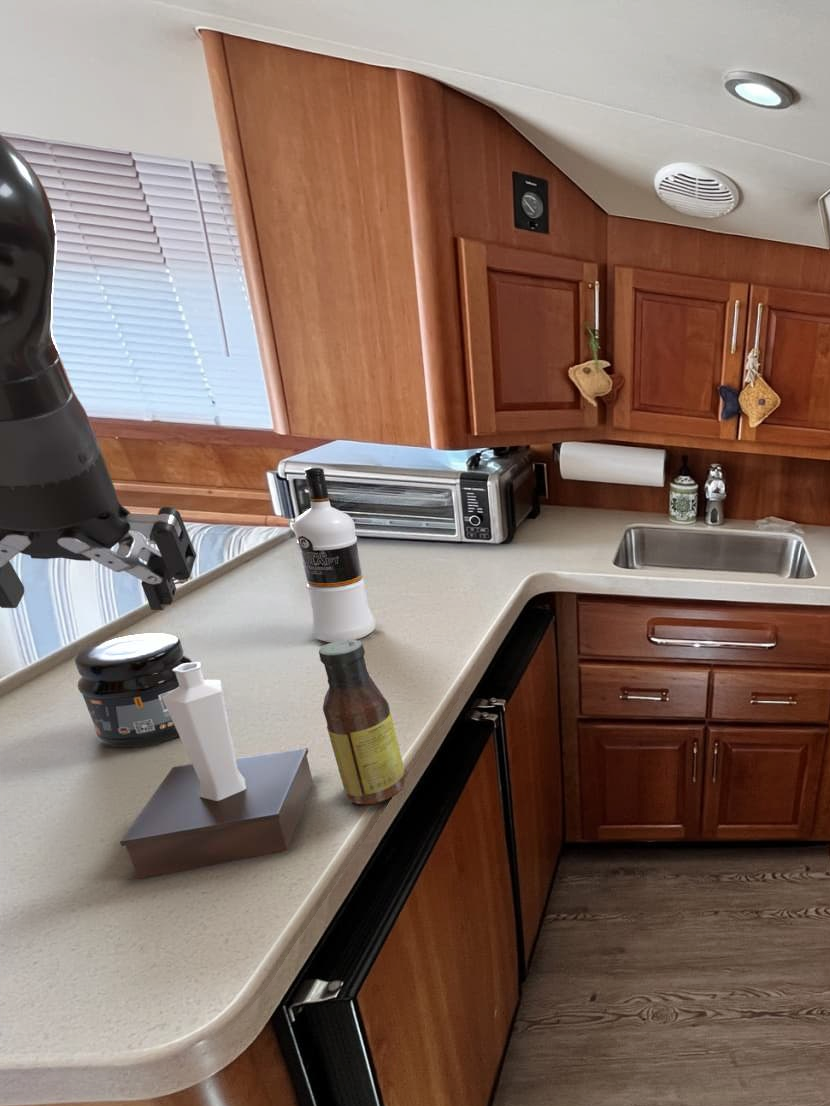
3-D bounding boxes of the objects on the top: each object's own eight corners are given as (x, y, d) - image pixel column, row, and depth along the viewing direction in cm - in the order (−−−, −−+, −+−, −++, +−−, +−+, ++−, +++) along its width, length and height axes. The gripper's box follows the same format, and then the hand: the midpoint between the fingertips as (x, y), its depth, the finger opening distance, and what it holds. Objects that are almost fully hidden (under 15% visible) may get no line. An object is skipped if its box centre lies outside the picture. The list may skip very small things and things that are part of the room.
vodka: (387, 631, 117) (360, 468, 106) (334, 649, 109) (298, 475, 98) (356, 619, 121) (326, 460, 110) (302, 635, 113) (264, 467, 102)
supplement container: (123, 714, 88) (94, 635, 83) (220, 702, 92) (198, 627, 87) (81, 757, 79) (47, 672, 74) (191, 743, 83) (165, 661, 79)
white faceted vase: (188, 807, 66) (146, 681, 60) (204, 782, 69) (166, 660, 64) (244, 798, 68) (208, 675, 62) (257, 774, 71) (224, 655, 66)
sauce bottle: (414, 774, 81) (390, 633, 74) (394, 806, 75) (365, 658, 68) (357, 776, 80) (327, 633, 72) (332, 809, 74) (297, 658, 67)
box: (134, 881, 63) (119, 842, 61) (185, 802, 73) (173, 766, 71) (289, 851, 68) (278, 813, 66) (315, 781, 78) (307, 747, 76)
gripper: (174, 429, 48) (213, 573, 59) (-126, 392, 41) (-22, 563, 51) (148, 494, 44) (195, 637, 54) (-193, 466, 37) (-64, 637, 47)
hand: (90, 601), depth 53 cm, fingers open, 8 cm apart
